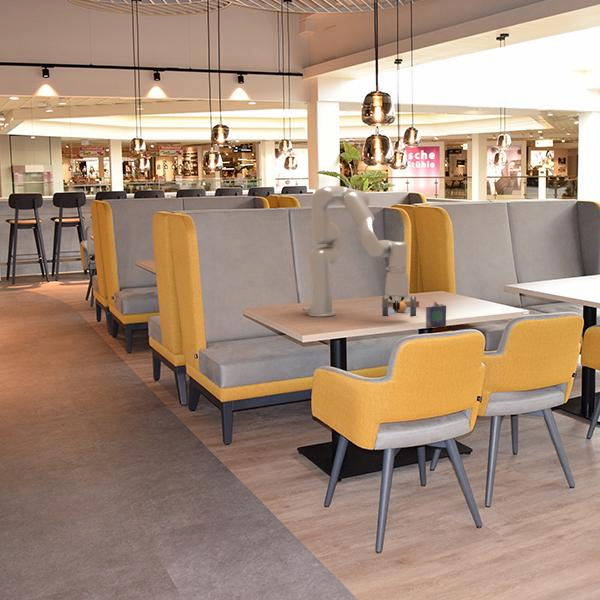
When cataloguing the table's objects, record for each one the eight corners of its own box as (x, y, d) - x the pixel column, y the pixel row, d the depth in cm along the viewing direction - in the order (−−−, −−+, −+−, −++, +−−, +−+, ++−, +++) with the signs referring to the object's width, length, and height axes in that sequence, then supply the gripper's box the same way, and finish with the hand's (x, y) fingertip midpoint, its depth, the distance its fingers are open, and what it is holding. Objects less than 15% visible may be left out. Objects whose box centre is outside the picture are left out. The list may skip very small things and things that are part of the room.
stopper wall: (382, 306, 391) (382, 301, 391) (382, 306, 393) (382, 301, 393) (419, 306, 388) (419, 301, 388) (419, 306, 390) (419, 301, 390)
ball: (394, 298, 372) (395, 306, 377) (393, 307, 369) (394, 315, 373) (406, 298, 371) (407, 306, 375) (405, 307, 367) (406, 315, 372)
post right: (410, 316, 361) (410, 297, 360) (410, 315, 364) (410, 296, 362) (416, 316, 361) (416, 297, 360) (416, 315, 363) (416, 296, 362)
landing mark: (384, 313, 371) (384, 313, 371) (385, 308, 385) (385, 308, 385) (414, 313, 369) (414, 313, 369) (414, 308, 383) (414, 308, 383)
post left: (382, 316, 363) (382, 297, 362) (382, 315, 366) (382, 296, 364) (388, 316, 363) (387, 297, 361) (388, 315, 365) (388, 296, 364)
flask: (427, 327, 334) (427, 302, 332) (424, 326, 336) (424, 301, 335) (447, 326, 337) (447, 301, 335) (443, 325, 339) (443, 300, 338)
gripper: (380, 270, 345) (378, 312, 348) (414, 271, 343) (413, 313, 346) (381, 268, 352) (379, 308, 355) (415, 269, 350) (413, 310, 353)
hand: (396, 311), depth 350 cm, fingers closed
